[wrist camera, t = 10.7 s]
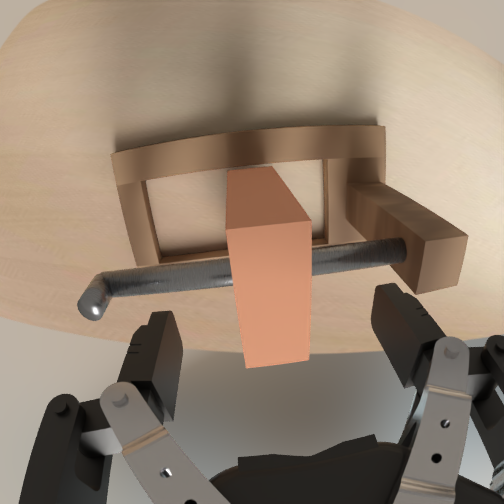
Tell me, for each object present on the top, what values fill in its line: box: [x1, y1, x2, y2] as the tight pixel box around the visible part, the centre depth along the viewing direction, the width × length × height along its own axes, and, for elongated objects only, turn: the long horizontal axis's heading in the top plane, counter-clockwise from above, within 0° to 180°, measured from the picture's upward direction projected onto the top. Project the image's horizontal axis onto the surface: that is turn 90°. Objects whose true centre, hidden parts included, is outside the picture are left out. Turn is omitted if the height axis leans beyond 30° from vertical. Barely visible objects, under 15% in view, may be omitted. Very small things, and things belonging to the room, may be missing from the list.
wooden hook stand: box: [111, 125, 468, 295], centre depth 18 cm, size 21×12×12 cm, turn 96°
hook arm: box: [77, 237, 407, 321], centre depth 14 cm, size 17×1×3 cm, turn 96°
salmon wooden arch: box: [226, 166, 312, 368], centre depth 17 cm, size 7×3×10 cm, turn 5°
